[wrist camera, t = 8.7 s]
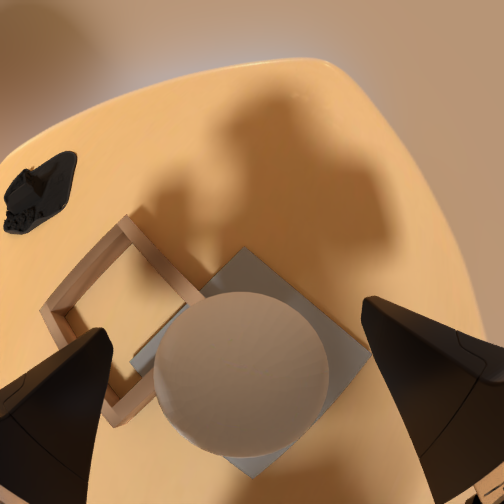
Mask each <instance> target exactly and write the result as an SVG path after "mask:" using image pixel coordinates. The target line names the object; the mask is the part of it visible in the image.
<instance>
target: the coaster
mask: <svg viewBox="0 0 504 504" xmlns="http://www.w3.org/2000/svg"><path fill="white" fill-rule="evenodd" d="M199 292H200V293H201V294H202V295H203V296H204V297H205V298H208V297H211V296H215V295H218V294H222V293H230V292H252V293H258V294H263V295H266V296H269V297H272V298H275V299H277V300H279V301H281V302H283V303H286V304H287V305H289V306H290V307H292V308H293V309H295V310H296V311H297V312H299V313H300V314H301V315H302V316H303V317H304V318H305V319H306V320H307V321H308V322H309V323H310V325H311V326H312V327H313V329H314V330H315V331H316V333H317V335H318V336H319V338H320V340H321V342H322V344H323V347H324V350H325V353H326V356H327V361H328V367H329V384H328V390H327V395H326V398H325V401H324V404H323V407H322V409H321V411H320V413H319V415H318V416H317V418H316V420H315V421H314V423H315V422H316V421H317V420H318V419H319V418H320V417H321V416H322V415H323V414H324V413H325V411H326V410H327V409H328V408H329V407H330V406H331V405H332V404H333V403H334V401H335V400H336V399H337V398H338V397H339V396H340V394H341V393H342V392H343V391H344V390H345V388H346V387H347V386H348V385H349V384H350V382H351V381H352V380H353V379H354V377H355V376H356V375H357V374H358V372H359V371H360V370H361V368H362V367H363V366H364V365H365V363H366V362H367V360H368V359H369V358H370V356H371V355H372V354H371V353H370V352H369V351H368V350H367V349H366V348H364V347H363V346H362V345H361V344H360V343H358V342H357V341H356V340H355V339H354V338H352V337H351V336H350V335H349V334H348V333H347V332H345V331H344V330H343V329H342V328H341V327H339V326H338V325H337V324H336V323H335V322H333V321H332V320H331V319H330V318H329V317H328V316H326V315H325V314H324V313H323V312H322V311H320V310H319V309H318V308H317V307H316V306H314V305H313V304H312V303H311V302H310V301H309V300H307V299H306V298H305V297H304V296H303V295H301V294H300V293H299V292H298V291H297V290H296V289H294V288H293V287H292V286H291V285H290V284H288V283H287V282H286V281H285V280H284V279H282V278H281V277H280V276H279V275H278V274H277V273H275V272H274V271H273V270H272V269H271V268H269V267H268V266H267V265H266V264H265V263H263V262H262V261H261V260H260V259H259V258H258V257H256V256H255V255H254V254H253V253H252V252H250V251H249V250H248V249H247V248H246V247H245V246H244V247H243V248H242V249H241V250H240V251H239V252H238V253H237V254H236V255H235V256H234V257H233V258H232V259H231V260H230V261H229V262H228V263H227V264H226V265H225V266H224V267H223V268H222V269H221V270H220V271H219V272H218V273H217V274H216V275H215V276H214V277H213V278H212V279H211V280H210V281H209V282H208V283H207V284H206V285H205V286H204V287H203V288H202V289H201V290H200V291H199ZM189 307H190V306H189V305H188V304H186V305H185V306H184V307H183V308H182V309H181V310H180V311H179V312H178V313H177V314H176V315H175V316H174V317H173V318H172V319H171V320H170V321H169V322H168V323H167V324H166V325H165V326H164V327H163V328H162V329H161V330H160V331H159V332H158V333H157V334H156V335H155V336H154V337H153V338H152V339H151V340H150V341H149V342H148V343H147V344H146V345H145V346H144V347H143V348H142V349H141V351H140V352H139V353H138V354H137V355H136V356H135V357H134V358H133V359H132V360H131V361H130V363H131V365H132V366H133V367H134V368H135V370H136V371H137V372H138V373H139V374H140V376H141V377H142V378H143V377H144V376H145V375H146V374H147V373H148V372H149V371H150V370H151V369H152V368H153V367H154V361H155V357H156V352H157V349H158V347H159V344H160V341H161V339H162V338H163V336H164V334H165V332H166V331H167V329H168V328H169V326H170V325H171V324H172V323H173V321H174V320H175V319H176V318H177V317H178V316H179V315H180V314H182V313H183V312H184V311H185V310H186V309H188V308H189ZM314 423H313V424H314ZM313 424H312V425H313ZM312 425H311V426H312ZM311 426H310V427H311ZM299 438H300V437H299ZM299 438H298V439H299ZM298 439H297V440H298ZM297 440H296V441H297ZM296 441H294V442H293V443H291V444H290V445H288V446H287V447H285V448H283V449H281V450H278V451H276V452H274V453H271V454H267V455H263V456H259V457H252V458H230V457H225V456H223V457H224V458H225V459H227V460H228V461H229V462H230V463H232V464H233V465H234V466H236V467H237V468H238V469H240V470H241V471H242V472H244V473H245V474H246V475H248V476H249V477H251V478H252V479H254V478H255V477H256V476H257V475H259V474H260V473H261V472H262V471H264V470H265V469H266V468H267V467H268V466H270V465H271V464H272V463H273V462H274V461H275V460H276V459H278V458H279V457H280V456H281V455H282V454H283V453H284V452H285V451H287V450H288V449H289V448H290V447H291V446H292V445H293V444H294V443H295V442H296Z"/></svg>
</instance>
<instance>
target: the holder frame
mask: <svg viewBox="0 0 504 504" xmlns="http://www.w3.org/2000/svg"><path fill="white" fill-rule="evenodd" d="M132 243H133V244H134V245H135V246H136V248H137V249H138V250H139V251H140V252H141V253H142V255H143V256H144V257H145V258H146V259H147V260H148V261H149V263H150V264H151V265H152V266H153V267H154V268H155V269H156V270H157V272H158V273H159V274H160V275H161V276H162V277H163V278H164V279H165V280H166V281H167V283H168V284H169V285H170V286H171V287H172V288H173V289H174V290H175V291H176V292H177V293H178V294H179V295H180V296H181V298H182V299H183V300H184V301H185V302H186V303H187V304H188V305H189V306H190V307H191V306H192V305H194V304H195V303H197V302H199V301H201V300H204V299H206V298H205V297H204V296H203V295H202V294H201V293H200V292H199V291H198V290H197V289H196V288H195V287H194V286H193V285H192V284H191V283H190V282H189V281H188V280H187V279H186V278H185V277H184V276H183V275H182V274H181V273H180V272H179V271H178V270H177V269H176V268H175V267H174V266H173V265H172V264H171V263H170V261H169V260H168V259H167V258H166V257H165V256H164V255H163V254H162V253H161V252H160V251H159V250H158V249H157V248H156V247H155V246H154V244H153V243H152V242H151V241H150V240H149V239H148V238H147V237H146V236H145V235H144V233H143V232H142V231H141V230H140V229H139V228H138V227H137V226H136V225H135V223H134V222H133V221H132V220H131V219H130V218H129V217H128V216H127V214H126V215H125V216H124V217H123V218H122V219H121V220H120V221H119V222H118V223H117V224H116V225H115V226H114V227H113V228H112V229H111V230H110V231H109V232H108V233H107V234H106V235H105V236H104V237H103V238H102V239H101V240H100V241H99V242H98V243H97V244H96V245H95V246H94V247H93V248H92V249H91V250H90V251H89V252H88V253H87V254H86V255H85V257H84V258H83V259H82V260H81V261H80V262H79V263H78V264H77V265H76V266H75V268H74V269H73V270H72V271H71V272H70V273H69V274H68V276H67V277H66V278H65V279H64V280H63V281H62V283H61V284H60V285H59V286H58V287H57V289H56V290H55V291H54V292H53V293H52V295H51V296H50V297H49V298H48V300H47V301H46V302H45V303H44V305H43V306H42V307H41V309H40V310H39V311H40V313H41V315H42V317H43V320H44V322H45V324H46V326H47V328H48V330H49V332H50V334H51V336H52V338H53V339H54V341H55V343H56V345H57V347H58V349H59V350H60V349H62V348H63V347H65V346H66V345H68V344H69V343H71V342H72V341H74V340H75V339H77V338H76V336H75V334H74V333H73V331H72V329H71V327H70V326H69V324H68V322H67V320H66V319H65V317H64V316H65V315H66V314H67V313H68V312H69V310H70V309H71V308H72V307H73V306H74V305H75V303H76V302H77V301H78V300H79V299H80V298H81V297H82V295H83V294H84V293H85V292H86V291H87V290H88V289H89V288H90V287H91V285H92V284H93V283H94V282H95V281H96V280H97V279H98V278H99V277H100V276H101V275H102V274H103V273H104V271H105V270H106V269H107V268H108V267H109V266H110V265H111V264H112V263H113V262H114V261H115V260H116V259H117V258H118V257H119V256H120V255H121V254H122V253H123V252H124V251H125V250H126V249H127V248H128V247H129V246H130V245H131V244H132ZM153 373H154V367H153V368H152V369H151V370H150V371H149V372H148V373H147V374H146V375H145V376H144V377H143V378H142V379H141V380H140V381H139V382H138V383H137V384H136V385H135V386H134V387H133V388H132V389H131V390H130V391H129V392H128V393H127V394H126V395H125V396H124V397H123V398H122V399H121V400H120V399H119V397H118V396H117V395H116V394H115V392H114V391H113V390H112V389H111V387H110V386H109V385H107V390H106V394H105V398H104V402H103V406H102V410H101V414H102V415H103V416H104V417H105V419H106V420H107V421H108V422H109V424H110V425H111V426H112V427H113V428H116V427H119V426H121V425H124V424H126V423H128V422H129V421H130V420H131V419H132V418H133V417H134V416H135V415H136V414H137V413H138V412H139V411H141V410H142V409H143V408H144V407H145V406H146V405H147V404H148V403H149V402H150V401H151V400H152V399H153V398H154V397H155V396H156V392H155V387H154V378H153Z"/></svg>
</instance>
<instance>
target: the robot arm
mask: <svg viewBox="0 0 504 504" xmlns="http://www.w3.org/2000/svg"><path fill="white" fill-rule="evenodd" d="M361 323H362V326H363V329H364V332H365V334H366V337H367V340H368V342H369V345H370V348H371V351H372V354H373V356H374V359H375V361H376V363H377V365H378V367H379V370H380V372H381V374H382V376H383V378H384V380H385V382H386V384H387V386H388V388H389V390H390V393H391V395H392V397H393V399H394V401H395V404H396V406H397V408H398V410H399V412H400V415H401V417H402V419H403V422H404V424H405V426H406V428H407V431H408V433H409V436H410V438H411V440H412V443H413V445H414V448H415V450H416V453H417V455H418V458H420V459H419V461H420V463H421V466H422V469H423V471H424V474H425V477H426V479H427V482H428V485H429V488H430V491H431V493H432V496H433V499H434V502H435V504H444V503H446V502H448V501H450V500H451V499H453V498H455V497H456V496H458V495H459V494H461V493H462V492H464V491H465V490H467V489H468V488H470V487H471V486H474V488H475V490H476V494H474V495H473V496H472V497H470V498H469V499H467V500H466V502H465V504H504V348H503V347H500V346H497V345H493V344H491V343H488V342H485V341H482V340H480V339H477V338H474V337H472V336H469V335H467V334H465V333H462V332H460V331H458V330H457V331H456V330H455V329H453V328H451V327H448V326H446V325H444V324H441V323H439V322H437V321H434V320H432V319H429V318H427V317H425V316H422V315H420V314H418V313H415V312H413V311H411V310H408V309H406V308H404V307H401V306H399V305H396V304H394V303H392V302H389V301H387V300H385V299H382V298H380V297H377V296H370V297H366V298H364V300H363V305H362V313H361ZM112 356H113V345H112V343H111V341H110V339H109V337H108V335H107V332H106V330H105V329H104V328H102V327H101V328H92V329H91V330H89V331H88V332H86V333H85V334H83V335H82V336H80V337H79V338H77V339H75V340H74V341H72V342H71V343H69V344H68V345H66V346H65V347H63V348H62V349H60V350H59V351H57V352H56V353H54V354H53V355H51V356H50V357H48V358H47V359H45V360H44V361H42V362H41V363H40V364H38V365H37V366H35V367H34V368H32V369H31V370H29V371H28V372H27V373H25V374H23V375H22V376H20V377H19V378H17V379H16V380H14V381H13V382H11V383H10V384H8V385H7V386H5V387H3V388H2V389H0V504H86V501H87V491H88V481H89V474H90V467H91V460H92V454H93V449H94V443H95V438H96V433H97V428H98V423H99V419H100V414H101V410H102V406H103V402H104V398H105V394H106V390H107V385H108V380H109V373H110V367H111V362H112Z"/></svg>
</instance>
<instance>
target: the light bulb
mask: <svg viewBox="0 0 504 504" xmlns="http://www.w3.org/2000/svg"><path fill="white" fill-rule="evenodd" d="M153 378H154V387H155V392H156V396H157V399H158V402H159V405H160V407H161V409H162V411H163V413H164V415H165V416H166V418H167V419H168V421H169V422H170V424H171V425H172V426H173V427H174V428H175V429H176V430H177V431H178V433H179V434H180V435H182V436H183V437H184V438H185V439H187V440H188V441H189V442H191V443H192V444H194V445H196V446H197V447H199V448H201V449H203V450H205V451H208V452H210V453H213V454H216V455H220V456H225V457H230V458H252V457H259V456H263V455H267V454H271V453H274V452H276V451H278V450H281V449H283V448H285V447H287V446H288V445H290V444H291V443H293V442H294V441H296V440H297V439H298V438H299V437H301V436H302V435H303V434H304V433H305V432H306V431H307V430H308V429H309V428H310V426H311V425H312V424H313V423H314V421H315V420H316V418H317V416H318V415H319V413H320V411H321V409H322V407H323V404H324V401H325V398H326V395H327V390H328V384H329V367H328V361H327V356H326V353H325V350H324V347H323V344H322V342H321V340H320V338H319V336H318V335H317V333H316V331H315V330H314V329H313V327H312V326H311V325H310V323H309V322H308V321H307V320H306V319H305V318H304V317H303V316H302V315H301V314H300V313H299V312H297V311H296V310H295V309H293V308H292V307H290V306H289V305H287V304H286V303H283V302H281V301H279V300H277V299H275V298H272V297H269V296H266V295H263V294H258V293H252V292H230V293H222V294H218V295H215V296H211V297H208V298H206V299H204V300H201V301H199V302H197V303H195V304H194V305H192V306H191V307H189V308H188V309H186V310H185V311H184V312H183V313H182V314H180V315H179V316H178V317H177V318H176V319H175V320H174V321H173V323H172V324H171V325H170V326H169V328H168V329H167V331H166V332H165V334H164V336H163V338H162V339H161V341H160V344H159V347H158V349H157V352H156V357H155V361H154V373H153Z"/></svg>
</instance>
